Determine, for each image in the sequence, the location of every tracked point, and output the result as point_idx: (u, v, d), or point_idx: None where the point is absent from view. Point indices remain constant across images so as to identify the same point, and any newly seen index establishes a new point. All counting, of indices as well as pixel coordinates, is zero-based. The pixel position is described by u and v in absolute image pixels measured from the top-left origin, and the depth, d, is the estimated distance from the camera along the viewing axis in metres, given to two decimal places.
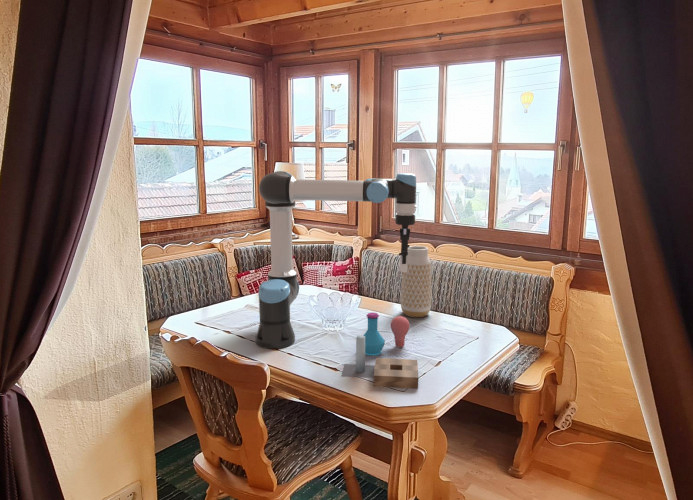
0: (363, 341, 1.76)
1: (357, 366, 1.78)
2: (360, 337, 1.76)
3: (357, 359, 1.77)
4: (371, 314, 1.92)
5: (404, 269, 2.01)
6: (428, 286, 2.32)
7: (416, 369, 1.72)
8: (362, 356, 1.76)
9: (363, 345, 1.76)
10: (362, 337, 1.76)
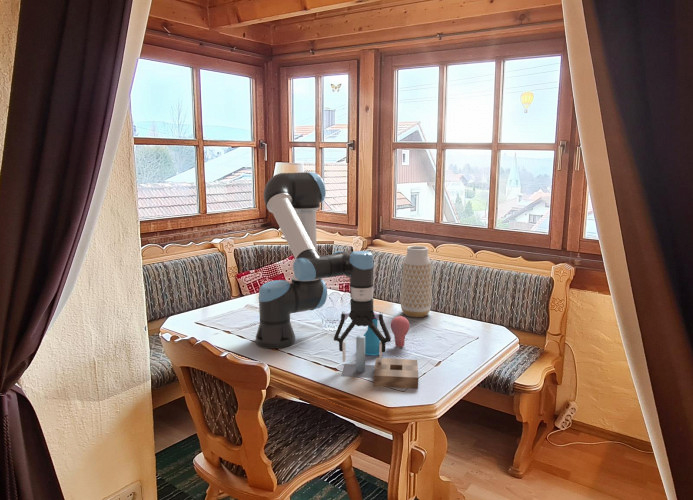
0: (363, 341, 1.76)
1: (357, 366, 1.78)
2: (360, 337, 1.76)
3: (357, 359, 1.77)
4: None
5: None
6: (428, 286, 2.32)
7: (416, 369, 1.72)
8: (362, 356, 1.77)
9: (363, 345, 1.76)
10: (362, 337, 1.76)
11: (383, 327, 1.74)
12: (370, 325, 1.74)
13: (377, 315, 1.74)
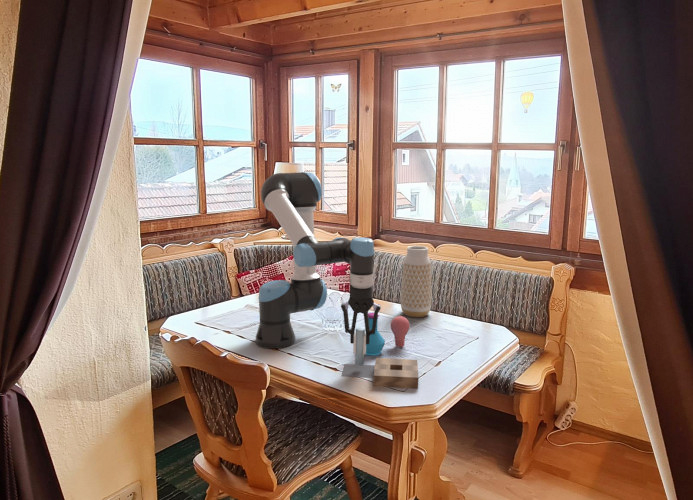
0: (362, 334, 1.76)
1: (356, 359, 1.78)
2: (359, 330, 1.76)
3: (356, 352, 1.77)
4: (371, 314, 1.92)
5: None
6: (428, 286, 2.32)
7: (416, 369, 1.72)
8: (361, 349, 1.76)
9: (362, 338, 1.76)
10: (361, 330, 1.76)
11: (375, 319, 1.74)
12: (365, 314, 1.73)
13: (375, 305, 1.74)
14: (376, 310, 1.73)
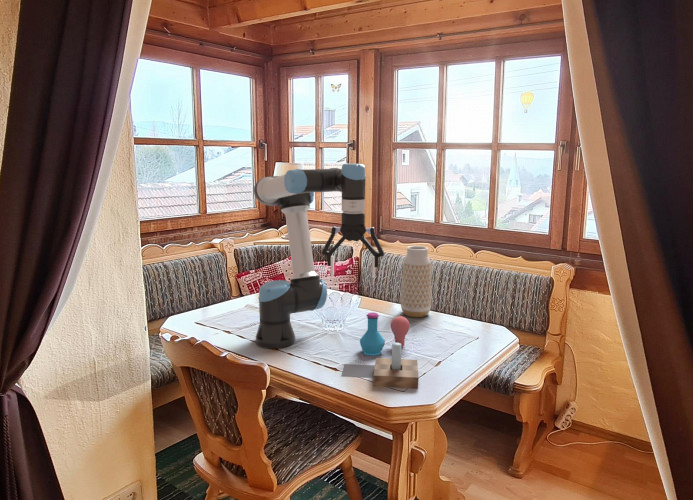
0: (399, 348, 1.71)
1: None
2: (396, 345, 1.71)
3: (393, 367, 1.72)
4: (371, 314, 1.92)
5: (331, 272, 1.75)
6: (428, 286, 2.32)
7: (416, 369, 1.72)
8: (398, 364, 1.71)
9: (399, 352, 1.71)
10: (398, 344, 1.71)
11: (375, 241, 1.71)
12: (362, 239, 1.70)
13: (368, 229, 1.71)
14: (371, 232, 1.70)
